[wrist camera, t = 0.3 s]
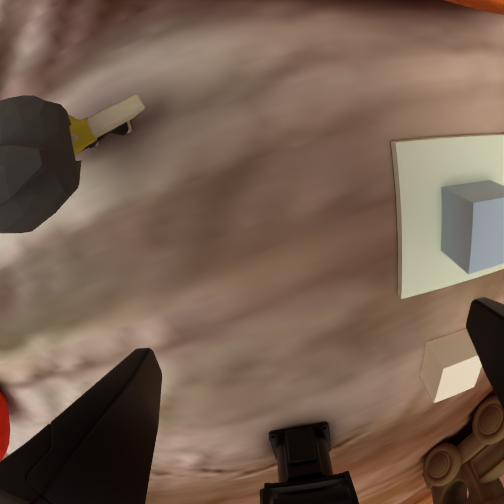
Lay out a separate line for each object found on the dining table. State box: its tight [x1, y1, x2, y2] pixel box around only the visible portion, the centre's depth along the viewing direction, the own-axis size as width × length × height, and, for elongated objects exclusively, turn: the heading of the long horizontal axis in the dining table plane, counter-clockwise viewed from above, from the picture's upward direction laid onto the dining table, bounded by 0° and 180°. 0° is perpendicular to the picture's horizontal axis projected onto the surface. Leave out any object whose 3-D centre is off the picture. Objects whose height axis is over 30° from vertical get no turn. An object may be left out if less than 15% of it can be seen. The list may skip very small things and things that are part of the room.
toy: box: [0, 95, 145, 233], centre depth 12 cm, size 8×5×15 cm, turn 104°
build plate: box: [391, 133, 504, 299], centre depth 21 cm, size 12×12×1 cm
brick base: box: [441, 180, 504, 274], centre depth 19 cm, size 5×5×4 cm
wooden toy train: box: [423, 395, 504, 504], centre depth 27 cm, size 20×11×17 cm, turn 155°
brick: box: [420, 329, 482, 403], centre depth 26 cm, size 5×5×4 cm
